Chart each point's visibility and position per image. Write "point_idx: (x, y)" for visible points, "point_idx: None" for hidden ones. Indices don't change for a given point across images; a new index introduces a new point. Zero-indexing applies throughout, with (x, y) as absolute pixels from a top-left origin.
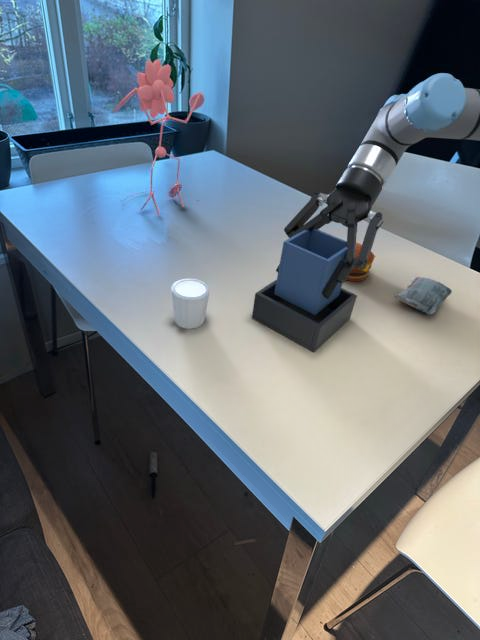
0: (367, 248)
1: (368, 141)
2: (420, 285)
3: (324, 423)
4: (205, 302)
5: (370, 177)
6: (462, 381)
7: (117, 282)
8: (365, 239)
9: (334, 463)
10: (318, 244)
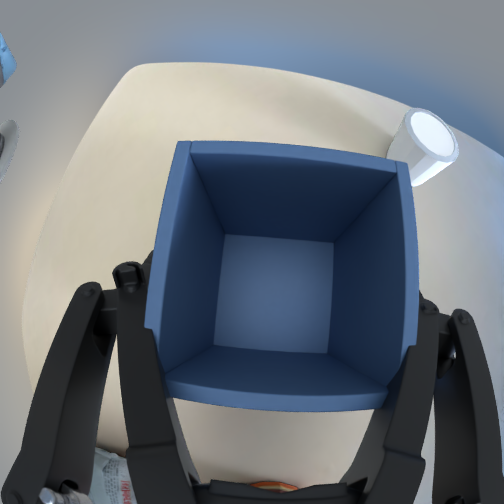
0: (58, 336)
1: None
2: (106, 488)
3: (149, 121)
4: (402, 139)
5: None
6: (27, 306)
7: (497, 184)
8: (63, 374)
9: (131, 97)
10: (323, 378)
